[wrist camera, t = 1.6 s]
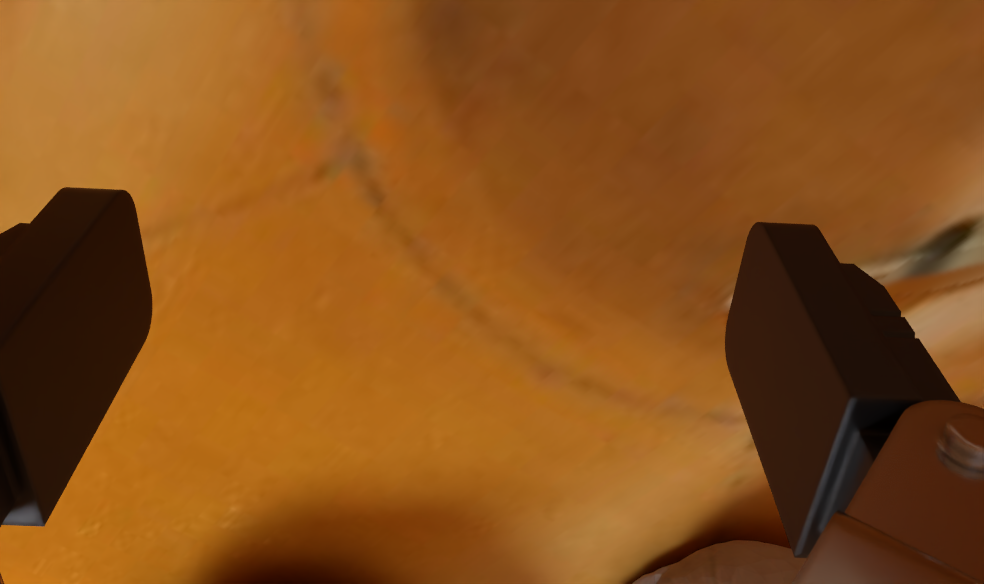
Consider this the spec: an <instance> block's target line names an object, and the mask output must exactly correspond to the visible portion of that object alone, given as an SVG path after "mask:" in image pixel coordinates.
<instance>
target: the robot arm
mask: <svg viewBox="0 0 984 584" xmlns="http://www.w3.org/2000/svg"><path fill="white" fill-rule="evenodd" d="M151 318H152V294H151V287H150V282H149V277H148V271H147V266H146V261H145V255H144V250H143V245H142V239H141V234H140V229H139V223H138V218H137V213H136V208H135V204H134V201H133V199H132V197H131V196H130V194H129V193H128V192H127V191H125V190H112V189H91V188H70V187H66V188H62V189H61V190H60V191H58V192H57V194H56V195H55V196H54V197H53V198H52V199H51V200H50V201H49V203H48V204H47V205H46V206H45V207H44V208H43V209H42V210H41V212H40V213H39V214H38V215H37V216H36V217H35V218H34V219H33V221H32V222H31V223H30V224H28V223H19V224H18V225H16V226H14V227H12V228H10V229H8V230H7V231H5V232H3V233H1V234H0V527H1V525H22V526H45V524H46V522H47V520H48V518H49V517H50V515H51V513H52V511H53V509H54V507H55V506H56V504H57V502H58V500H59V498H60V496H61V495H62V493H63V491H64V489H65V487H66V485H67V484H68V482H69V480H70V478H71V476H72V474H73V473H74V471H75V469H76V467H77V465H78V463H79V462H80V460H81V458H82V456H83V454H84V452H85V451H86V449H87V447H88V445H89V443H90V441H91V440H92V438H93V436H94V434H95V432H96V430H97V429H98V427H99V425H100V423H101V421H102V419H103V418H104V416H105V414H106V412H107V410H108V408H109V407H110V405H111V403H112V401H113V399H114V397H115V396H116V394H117V392H118V390H119V388H120V386H121V385H122V383H123V381H124V379H125V377H126V375H127V374H128V372H129V370H130V368H131V366H132V364H133V363H134V361H135V359H136V357H137V355H138V353H139V352H140V350H141V348H142V346H143V344H144V342H145V340H146V338H147V336H148V333H149V329H150V324H151ZM725 352H726V360H727V365H728V369H729V372H730V374H731V377H732V380H733V383H734V386H735V389H736V392H737V394H738V397H739V400H740V403H741V406H742V409H743V412H744V415H745V417H746V420H747V423H748V426H749V429H750V432H751V435H752V437H753V440H754V443H755V446H756V449H757V452H758V455H759V457H760V460H761V463H762V466H763V469H764V472H765V475H766V477H767V480H768V483H769V486H770V489H771V492H772V495H773V497H774V500H775V503H776V506H777V509H778V512H779V515H780V517H781V520H782V523H783V526H784V529H785V532H786V535H787V537H788V540H789V543H790V546H791V549H792V552H793V555H794V557H795V558H807V559H806V560H805V562H804V564H803V565H802V567H801V569H800V570H799V572H798V574H797V576H796V577H795V579H794V581H793V582H792V584H984V409H983V408H980V407H977V406H974V405H970V404H966V403H962V402H960V400H959V399H958V397H957V396H956V394H955V393H954V391H953V390H952V388H951V387H950V385H949V384H948V382H947V380H946V379H945V377H944V376H943V374H942V373H941V371H940V370H939V368H938V367H937V365H936V364H935V362H934V361H933V359H932V358H931V356H930V355H929V353H928V352H927V350H926V349H925V347H924V346H923V344H922V343H921V341H920V340H919V339H917V338H915V332H914V331H913V329H912V328H911V326H910V325H909V323H908V322H907V320H906V319H905V317H901V311H900V310H899V308H898V307H897V305H896V304H895V302H894V301H893V299H892V298H891V296H890V295H889V293H888V292H887V290H886V289H885V287H884V286H883V285H881V284H880V283H879V282H877V281H876V280H874V279H873V278H872V277H870V276H869V275H868V274H866V273H865V272H864V271H862V270H861V269H860V268H858V267H857V266H856V265H854V264H843V263H840V262H839V261H838V259H837V258H836V256H835V254H834V253H833V251H832V249H831V248H830V246H829V245H828V243H827V241H826V240H825V238H824V236H823V235H822V233H821V232H820V230H819V229H818V227H817V226H815V225H807V224H786V223H766V222H757V223H755V224H754V225H753V226H752V228H751V230H750V232H749V235H748V237H747V241H746V245H745V249H744V253H743V257H742V261H741V266H740V270H739V274H738V278H737V282H736V286H735V290H734V295H733V299H732V303H731V307H730V311H729V315H728V320H727V325H726V334H725ZM0 584H4V582H3V579H2V576H1V574H0Z"/></svg>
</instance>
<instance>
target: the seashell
mask: <svg viewBox="0 0 984 584" xmlns="http://www.w3.org/2000/svg"><path fill="white" fill-rule="evenodd" d="M806 559H807V558H795V557H794V555H793V552H792V549H790V548H786V547H782V546H778V545H774V544H769V543H762V542H759V541H747V540H733V541H729V542H726V543H719V544H714V545H712V546H709V547H706V548H703V549H700V550H698V551H696V552H694V553H692V554H691V555H689V556H687V557H686V558H684V559H682V560H681V561H680V562H677V563H674V564H671V565H668V566H665V567H662V568H660V569H658V570H656V571H655V572H653V573H649V574H645V575H643V576H642V577H640V578H639V579H638V580H636V581H635V582H633V584H792V582H793V581H794V579H795V577H796V576H797V574H798V572H799V570H800V569H801V567H802V565H803V564H804V562H805V560H806Z"/></svg>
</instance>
